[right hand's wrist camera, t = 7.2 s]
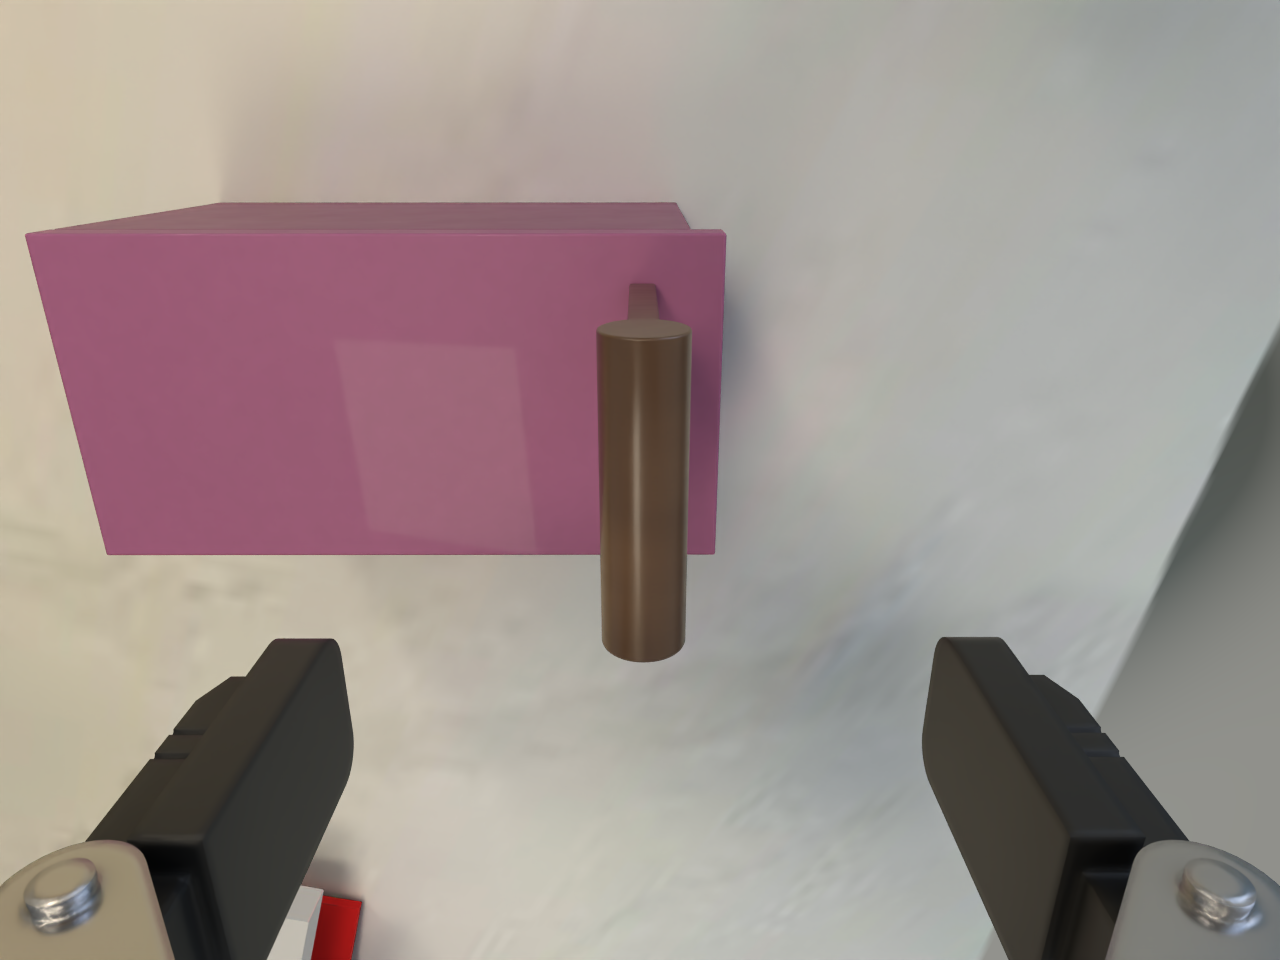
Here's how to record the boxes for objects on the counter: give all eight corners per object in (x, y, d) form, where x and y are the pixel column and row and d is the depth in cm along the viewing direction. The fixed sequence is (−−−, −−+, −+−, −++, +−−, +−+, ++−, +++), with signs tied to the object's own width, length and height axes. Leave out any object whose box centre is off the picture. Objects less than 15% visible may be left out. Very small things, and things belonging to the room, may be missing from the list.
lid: (723, 229, 23) (765, 276, 16) (711, 539, 27) (742, 706, 19) (49, 229, 23) (-249, 276, 15) (126, 540, 27) (-86, 707, 19)
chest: (676, 202, 33) (692, 229, 23) (673, 435, 36) (685, 539, 27) (218, 202, 33) (50, 229, 23) (259, 435, 36) (126, 539, 27)
